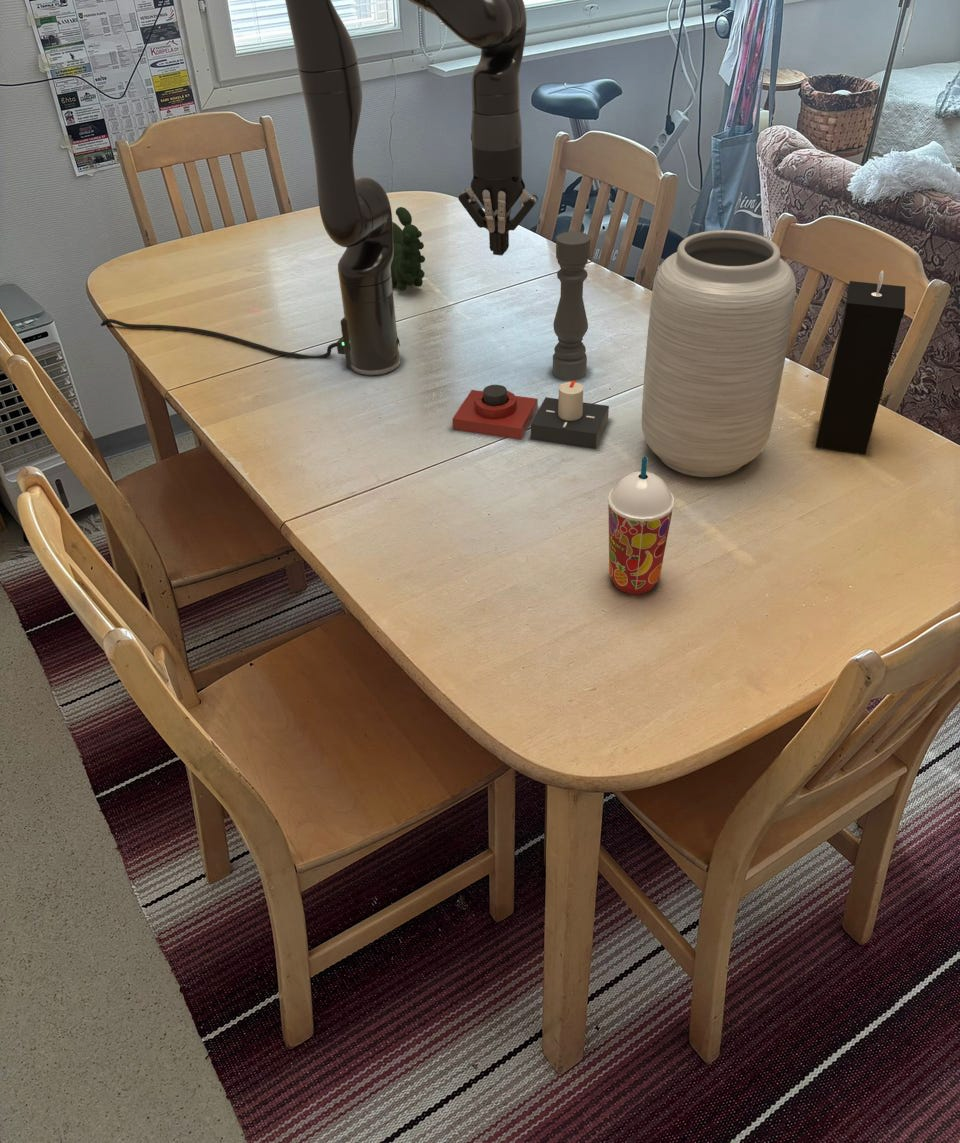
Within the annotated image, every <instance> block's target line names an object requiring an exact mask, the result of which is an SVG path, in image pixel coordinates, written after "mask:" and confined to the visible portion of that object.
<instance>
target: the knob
mask: <svg viewBox="0 0 960 1143" xmlns="http://www.w3.org/2000/svg"><path fill="white" fill-rule="evenodd" d="M557 399H558V415H559V417H560V418H561V419H563V420H567V421H574V420H578V419H580V418H581V417H582V414H583V402H584V386H583V384H581V383H579V382H577V381H576V380H572V381H564V382H563V383H561V384H559V386H558V398H557Z"/></svg>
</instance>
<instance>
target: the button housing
mask: <svg viewBox="0 0 960 1143" xmlns="http://www.w3.org/2000/svg"><path fill="white" fill-rule="evenodd" d="M538 402H539V398H535V397H530V396H529V397H528V396H522V395H521V396H520V395H515V393H513V392H511V391H509V390H507V403H506V404H504V405H501V406H488V405H486V404H485V403H484V400H483V390H476V389H471V390H470V392H469V393H468V395H467V396H466V398H465V399H464V401H463V402H462V403H461V405H460V406H459V408H458V410H456V412H455V414H454V416H453V417H452V430H454V431H461V432H467V433H473V434H481V435H486V436H487V435H488V436H494V437H500V438H508V439H514V440H520V441H521V440H522V439H523V437H524V435H525V434H526V432H527V430H528V428H529V426H531V423H532V421H533V419H534V417H535V416H536V414H537V412H538V410H539V407H538V406H539V403H538Z"/></svg>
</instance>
